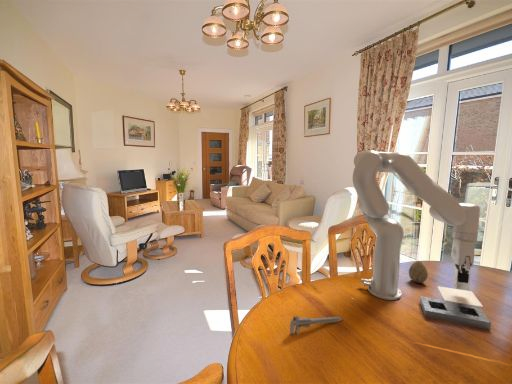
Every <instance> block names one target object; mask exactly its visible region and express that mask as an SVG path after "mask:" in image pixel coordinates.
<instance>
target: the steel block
mask: <svg viewBox="0 0 512 384" xmlns="http://www.w3.org/2000/svg"><path fill="white" fill-rule="evenodd" d="M463 268H465V267H462V269H463ZM458 272H460V266H455V265H454V271H453V287H454V289H460V290H466V291H470V284H471V283H470V282H471V281H470V280H471V270H470V271H469V280H468V283H462V282H458Z"/></svg>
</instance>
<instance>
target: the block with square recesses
mask: <svg viewBox="0 0 512 384" xmlns="http://www.w3.org/2000/svg"><path fill="white" fill-rule="evenodd" d="M419 304H420V307H421V309H422V310H421V311H422V313H423V315H424V318H428V319H432V320H438V321H442V322H447V323H448V322H449V323H451V324H453V323H454V324H458V325H463V326H468V327H473V328H480V329H482V330H483V329H484V330H488V331H491V325H492V322H491V321H490V320H489V318H488V317H487V315H486V314H485V313H484V311H483V310H482V307H479V306H474V305H469V304H463V303H457V302H451V301H445V300H444V299H440V298H439V299H438V298H432V297H427V296H422V295H420V297H419Z"/></svg>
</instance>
